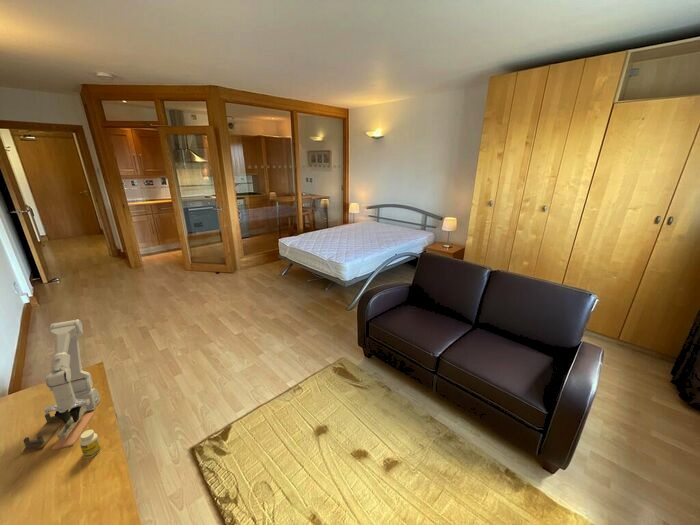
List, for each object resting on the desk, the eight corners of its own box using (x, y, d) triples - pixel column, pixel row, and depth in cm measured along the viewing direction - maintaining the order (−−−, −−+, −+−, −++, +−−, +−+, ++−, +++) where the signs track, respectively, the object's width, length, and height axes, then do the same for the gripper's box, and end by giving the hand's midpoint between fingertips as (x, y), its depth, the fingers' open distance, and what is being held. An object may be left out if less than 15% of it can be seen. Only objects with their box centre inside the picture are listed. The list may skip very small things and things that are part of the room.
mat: (95, 412, 134) (94, 411, 134) (73, 445, 118) (73, 444, 118) (76, 416, 132) (76, 415, 132) (52, 450, 116) (51, 448, 116)
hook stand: (50, 420, 129) (47, 411, 128) (66, 417, 131) (63, 408, 130) (23, 453, 114) (19, 443, 113) (42, 449, 116) (38, 439, 114)
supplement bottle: (81, 460, 112) (75, 441, 109) (86, 449, 116) (80, 430, 114) (99, 455, 114) (93, 436, 112) (102, 444, 119) (97, 425, 116)
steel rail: (80, 410, 131) (78, 406, 130) (86, 409, 132) (85, 405, 131) (58, 439, 116) (57, 435, 116) (65, 438, 117) (64, 433, 117)
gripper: (35, 406, 114) (45, 433, 118) (80, 398, 118) (88, 424, 122) (47, 394, 120) (55, 419, 124) (89, 387, 125) (96, 412, 129)
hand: (72, 421), depth 124 cm, fingers closed on steel rail, 2 cm apart
